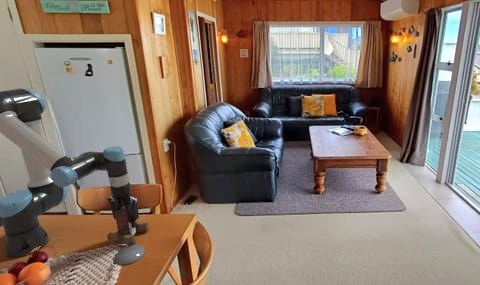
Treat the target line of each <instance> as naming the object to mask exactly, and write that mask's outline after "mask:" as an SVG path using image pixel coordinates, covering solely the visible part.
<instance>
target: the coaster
mask: <svg viewBox="0 0 480 285" xmlns="http://www.w3.org/2000/svg"><path fill="white" fill-rule="evenodd" d="M145 253H146V250H145V248H144V246H142V245H140V244H136V245H130V246H127V245H126V246H124V247H123V248H120V249H119V250H118V251H117V253H115V256H114V259H115V262H116V263H117V262H118V263H120V264H119V265H122V266H123V265H124V266H125V265H131V264H133V263H136V262H138V261H139V260H142V258H143V257H144V255H145ZM118 263H117V264H118Z"/></svg>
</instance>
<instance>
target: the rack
mask: <svg viewBox="0 0 480 285" xmlns="http://www.w3.org/2000/svg"><path fill="white" fill-rule="evenodd" d="M135 222H136V227H135V229H136V233H145V234H147V233H148V232H149V231H150V228H149V222H145V221H144V222H143V221H137V220H136V221H135ZM107 240H108V244H112V245H119V244H126V245H125V246H127V245H128V246H130V245H137V239H136V236H135V234H134V235H127V234H119V233H117V232H116V233H115V232H109V233H107Z"/></svg>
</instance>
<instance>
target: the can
mask: <svg viewBox="0 0 480 285" xmlns="http://www.w3.org/2000/svg"><path fill="white" fill-rule="evenodd" d="M114 212H115V217H116V219H115V221H116V227H117V231H118V234H127V235H131V234H130V228H129V223H128V222H129V221H130V220H129V217H128V214H127V212H126V209H125V208H124V206H123V207H122V209H120V210H117V207H116V208H115V211H114Z"/></svg>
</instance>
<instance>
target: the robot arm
mask: <svg viewBox="0 0 480 285" xmlns="http://www.w3.org/2000/svg"><path fill="white" fill-rule="evenodd" d="M45 110H46V102H45V99H44V98H43V96H41V94H40V93H38V92H37V91H36V90H35V89H33V88H16V89H15V88H14V89H10V90H9V89H8V90H1V91H0V134H1V135H2V136H3V137H5V138H6V139H8V140H9V141H11V142H12V143H13V144H14V145H16V146H17V147H18V148H20V151H21V154H22V159H23V161H24V165H25V169H26V172H27V176H28V178H29V181H28V182H27V183H26V187H27V189H22V190H17V191H15V192H11V193H9V194H6V195H5V196H4V197H2V198H1V199H0V221H1V223H2V227H3V230H4V234H5V245H4V251H5V255H6V256H7V257H9V258H21V257H25V256H27V255H26V254H28V253H30V252H31V251H32V250H33V249H34V248H36V247H39V246H44V247H45V246H46V245H47V244H48V243H49V240H50V238H49V235H48V232H47V231H46V230H45V228H43V226H41V224H40V222H39V221H40V220H39V216H41V215H43V214H45V213H46V212H49V211H51V210H52V209H54V208H55V207H57V206H59V205H60V204H61V203H63V202H64V201H65V200H66V198H67V195H68V189H67V187H69V186H70V185H73V184H75V183H77V182H78V181H80V180H81V179H83V178H85V177H87V176H89V175H91V174H93V173H95V172H97V171H104V172H105V171H106V172H107V177H108V183H109V185H110V187H109V188H110V193H111V195H110V196H109V197H108V198H107V201H108V203H109V206H110V210H111V214H112V216H113V219H114V220H116V217H115V212H114V211H115V208H116V207H117V210H120V209H122V207H123V206H124V208H125V209H126V212H127V214H128V217H129V220H130V221H129V222H128V223H129V228H130V234H131V235H135V234H136V233H137V232H136V229H135V227H136V222H137V221H138V220H139V218H140V213H139V205H138V202H139V198H138V197H133V194H131V191H132V190H131V189H132V186H131V183H130V177H129V173H128V167H127V160H126V155H125V151H124V148H123V147H122V146H117V145H116V146H109V147H106V148H104V149H103V150H102V151H84V152H83V151H82V152H81V153H80V154H79V155H78V156H77V158H75V159H71V158H70V157H68V155H66V154H65V153H64V152H61V150H59V149H58V148H57V147H56V146H54V145H53V144H52V143H50V142H49V141H48V140H46V139H45V138H44V137H43V134H42V130H41V127H40V122H42V120H43V118H42V114H43V113H44V112H45ZM135 221H136V222H135ZM24 255H25V256H24ZM28 255H29V254H28Z"/></svg>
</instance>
